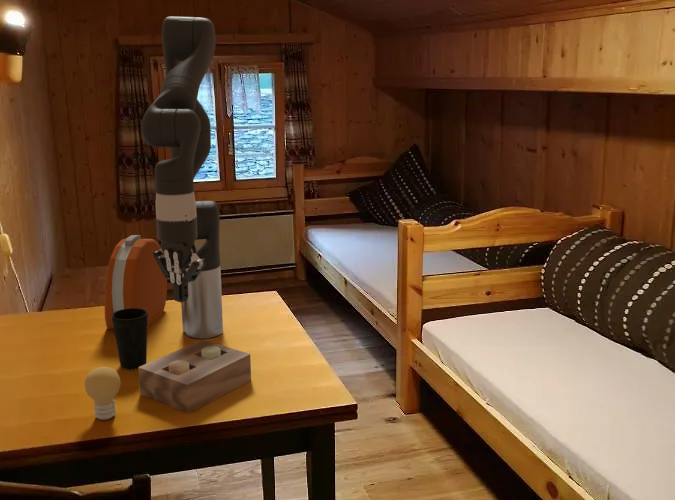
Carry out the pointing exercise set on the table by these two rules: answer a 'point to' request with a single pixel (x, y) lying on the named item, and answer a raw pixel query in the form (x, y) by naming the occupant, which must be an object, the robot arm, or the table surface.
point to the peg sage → (211, 352)
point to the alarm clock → (135, 279)
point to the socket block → (194, 376)
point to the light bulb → (103, 390)
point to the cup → (131, 336)
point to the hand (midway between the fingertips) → (181, 300)
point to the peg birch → (178, 367)
